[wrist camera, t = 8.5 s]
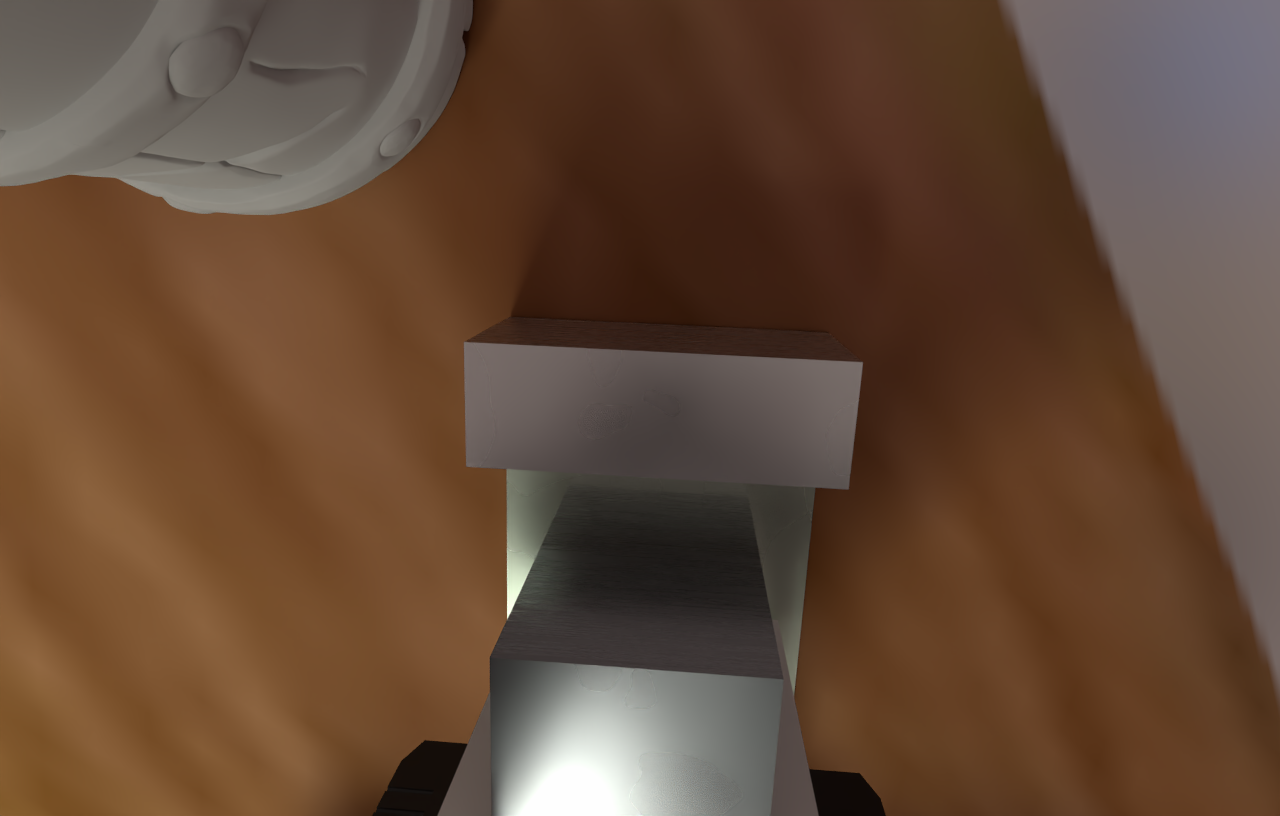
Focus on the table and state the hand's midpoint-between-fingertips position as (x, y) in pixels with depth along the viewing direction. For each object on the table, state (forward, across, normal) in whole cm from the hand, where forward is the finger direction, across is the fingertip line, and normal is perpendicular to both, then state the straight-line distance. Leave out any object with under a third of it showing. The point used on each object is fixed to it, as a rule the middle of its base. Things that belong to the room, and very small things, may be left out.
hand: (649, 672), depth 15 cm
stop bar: (0, 0, -1) cm, 1 cm away
